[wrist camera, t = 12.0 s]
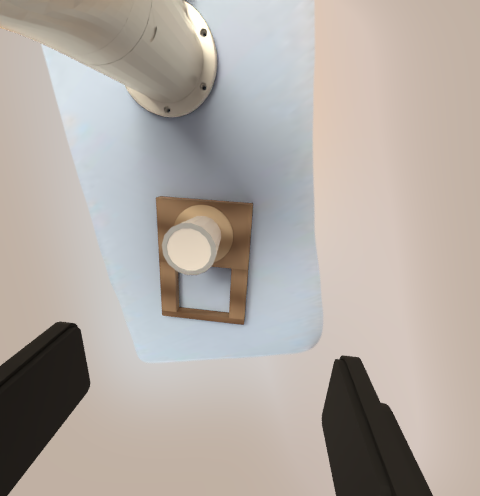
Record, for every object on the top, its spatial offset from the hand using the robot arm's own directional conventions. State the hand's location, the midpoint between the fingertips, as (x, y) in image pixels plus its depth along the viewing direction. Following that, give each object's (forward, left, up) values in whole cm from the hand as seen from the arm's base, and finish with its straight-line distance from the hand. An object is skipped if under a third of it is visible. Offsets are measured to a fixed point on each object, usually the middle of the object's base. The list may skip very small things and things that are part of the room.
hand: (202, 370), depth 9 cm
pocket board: (+9, -7, -30) cm, 32 cm away
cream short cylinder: (+4, -7, -29) cm, 30 cm away
